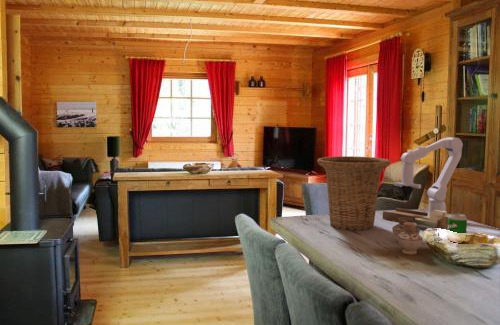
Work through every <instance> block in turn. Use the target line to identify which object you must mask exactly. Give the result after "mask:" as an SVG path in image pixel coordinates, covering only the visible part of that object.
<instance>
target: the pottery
mask: <svg viewBox="0 0 500 325" xmlns="http://www.w3.org/2000/svg"><path fill="white" fill-rule="evenodd" d="M413 222H414V220H413V219H412V218H407V217H403V218H399V222H398V224H395V225H394V226H392V228H391V230H392V234H393V235H394V237H395V239H396V240H397V243H398V245H399V246H400V248H401V249H402V250H401V252H402V253H403V254H405V255H416V254H417V253H418V251H417V250H418V249H419V248H420V247H421V246H422V243H423V239H424V238H423V236H422V235H420V231H421V229H419V228H417V227H416V226H417V224H416V223H413Z"/></svg>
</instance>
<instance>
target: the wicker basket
mask: <svg viewBox="0 0 500 325" xmlns="http://www.w3.org/2000/svg"><path fill="white" fill-rule="evenodd" d="M316 162H317V164H318V165H319V166H320V167H323V169H324V171H325V175H326V186H327V200H328V203H327V204H328V212H329V214H328V215H329V222H330V226H332V227H333V228H334V227H335V228H336V229H341V230H346V229H347V230H349V231H354V230H356V231H361V230H364V231H367V230H368V229H369V230H371V229H372V228H374V226H375V218H376V211H377V202H378V194H379V187H380V180H381V174H382V171H383V170H384V169H385V168H387V167H388V166H390V165H391V160H389V159H387V158H381V157H372V156H371V157H370V156H346V155H345V156H344V155H343V156H324V157H320V158H319V157H318V159H317V161H316Z"/></svg>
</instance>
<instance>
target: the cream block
mask: <svg viewBox="0 0 500 325" xmlns="http://www.w3.org/2000/svg"><path fill="white" fill-rule="evenodd" d="M445 217H448V211H447V210H446V211H439V210H434V211H430V221H436V222H437V220H439V219H442V218H445Z"/></svg>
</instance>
